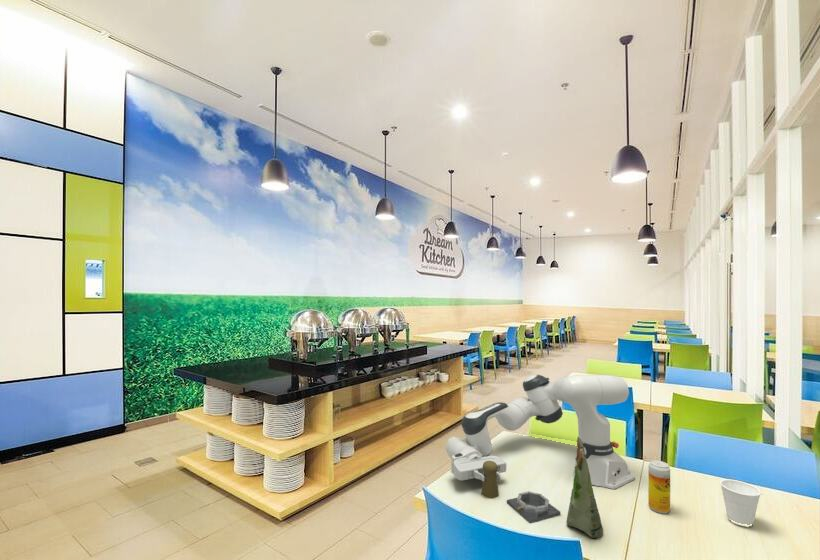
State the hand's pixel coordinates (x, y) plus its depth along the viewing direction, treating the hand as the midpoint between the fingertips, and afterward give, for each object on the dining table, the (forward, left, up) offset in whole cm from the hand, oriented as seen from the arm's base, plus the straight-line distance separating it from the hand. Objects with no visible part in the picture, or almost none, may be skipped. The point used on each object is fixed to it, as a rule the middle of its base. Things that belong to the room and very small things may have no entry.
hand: (491, 477), depth 138 cm
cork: (0, -1, -6) cm, 6 cm away
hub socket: (-8, +12, -6) cm, 16 cm away
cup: (-64, +41, -6) cm, 76 cm away
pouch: (-16, +25, -6) cm, 31 cm away
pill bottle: (-47, +27, -6) cm, 55 cm away
